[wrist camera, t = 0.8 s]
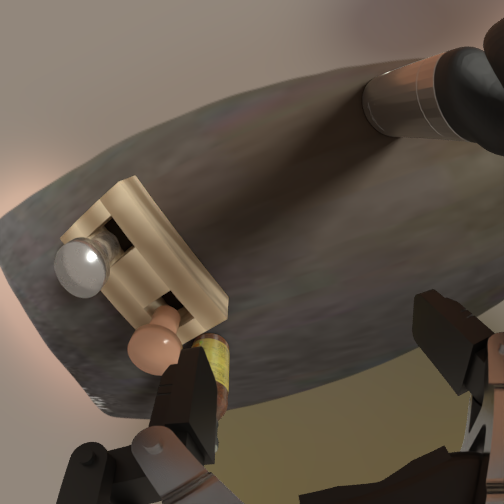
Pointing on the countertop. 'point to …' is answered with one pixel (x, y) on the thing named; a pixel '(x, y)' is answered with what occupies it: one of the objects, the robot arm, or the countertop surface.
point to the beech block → (152, 263)
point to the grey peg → (86, 263)
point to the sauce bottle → (217, 369)
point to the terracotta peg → (157, 342)
